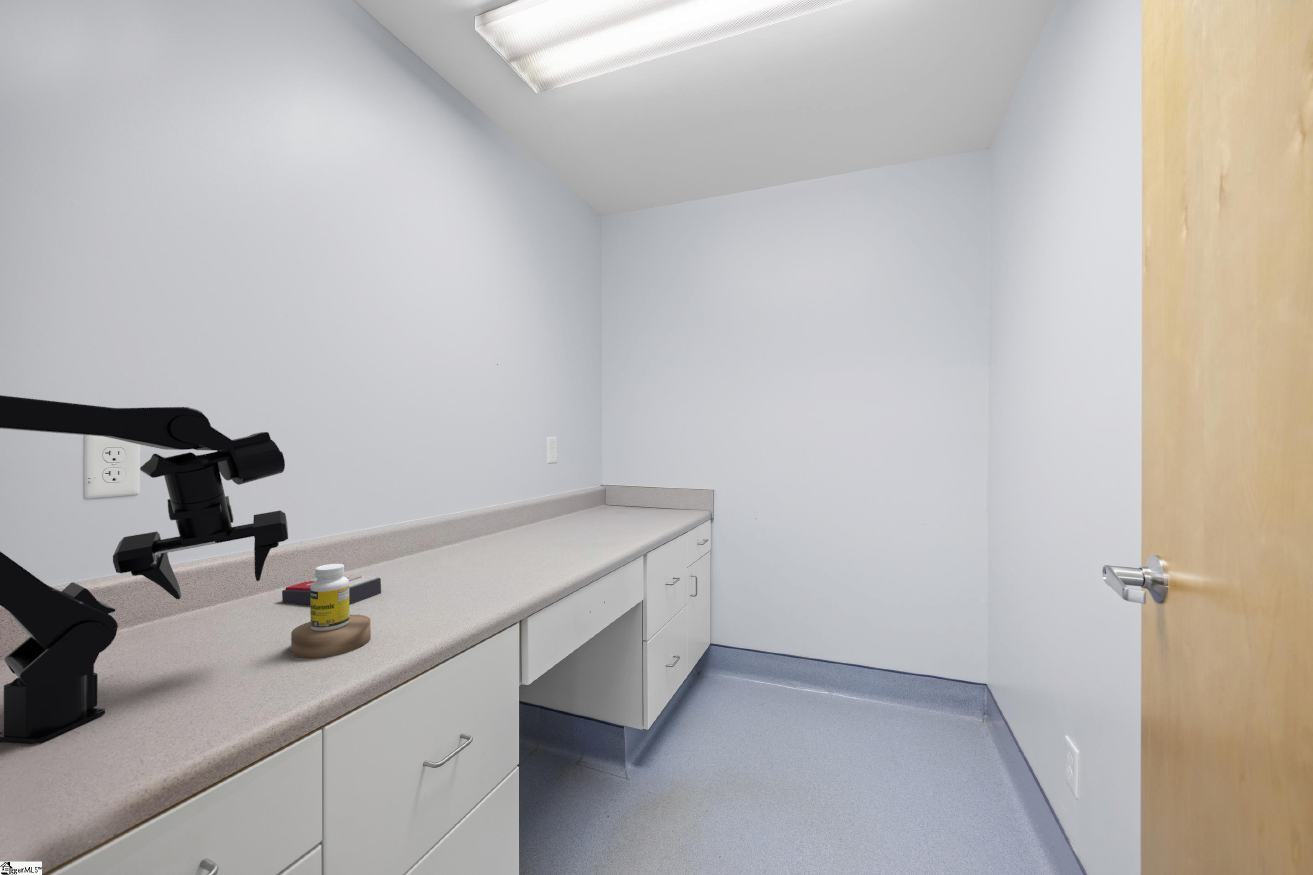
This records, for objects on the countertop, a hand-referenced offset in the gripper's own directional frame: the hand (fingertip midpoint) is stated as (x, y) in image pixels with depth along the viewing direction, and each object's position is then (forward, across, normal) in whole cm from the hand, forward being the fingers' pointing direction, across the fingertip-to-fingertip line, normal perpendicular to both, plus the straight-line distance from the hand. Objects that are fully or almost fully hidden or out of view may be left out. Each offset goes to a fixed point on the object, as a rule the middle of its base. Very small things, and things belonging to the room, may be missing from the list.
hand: (220, 588), depth 78 cm
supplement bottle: (+9, -13, +5) cm, 16 cm away
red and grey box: (+22, -14, -22) cm, 35 cm away
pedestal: (+12, -13, +6) cm, 18 cm away
